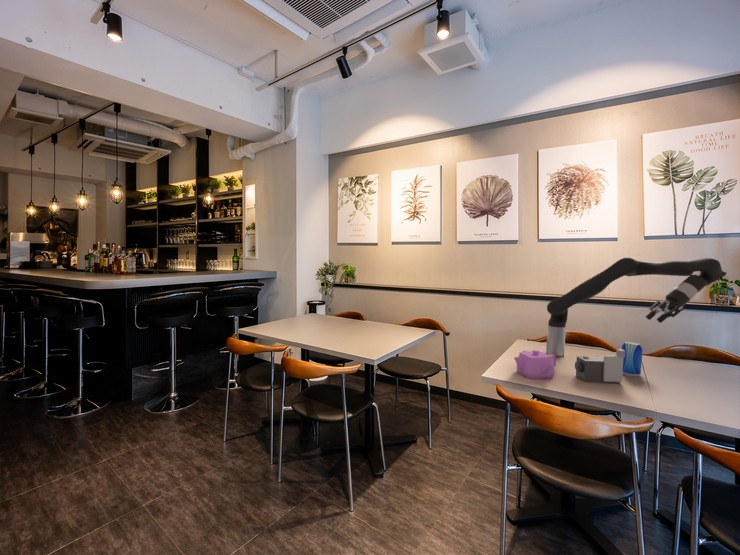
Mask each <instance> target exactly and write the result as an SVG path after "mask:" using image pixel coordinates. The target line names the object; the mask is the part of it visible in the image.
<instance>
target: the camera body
mask: <svg viewBox="0 0 740 555" xmlns="http://www.w3.org/2000/svg"><path fill="white" fill-rule="evenodd" d="M603 368H604V356H587V355H580V356H579V355H577V356H576V361H575V363H574V369H575V377H576V378H578V379H580V380H581V381H583V382H584V383H608V384H620V383H621V382H607V381H603Z"/></svg>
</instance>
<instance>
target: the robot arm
mask: <svg viewBox="0 0 740 555" xmlns="http://www.w3.org/2000/svg"><path fill="white" fill-rule="evenodd" d="M721 265H722V264H721V263H720V261H719V260H717V259H715V258H707V257H705V258H704V257H703V258H699V259H694V260H693V259H692V260H685V261H684V260H680V261H679V260H668V261H667V260H665V261H656V262H649V261H648V262H647V261H639V260H636V259H634V258H632V257H622V258H620V259H618V260H616V261H615V262H614V263H613V264H611V265H609V267H607V268H605V269H604V270H603V271H601V272H599V273H597V274H595V275H594V276H592V277H589V278H588V279H587V280H585V281H583V282H582V283H580V284H578V285H577V286H575V287H574V288H572V289H571V290H570V291H569V292H567V293H565V294H564V295H561V296H559V297H557V298H555V299H553V300H550V301H549V302H548V304H547V306H546V310H547V313H548V314H549V315H550V318H549V320H548V323H547V326H548V327H547V337H546V349H545V354H550V355H555V357H564V356H565V348H566V347H565V346H566V330H567V328H566V326H567V322H568V315H569V314H568V312H569V308H571V307H573V306H575V305H577V304H580V303H582V302H586V301H587V300H589V299H591V298H593V297H595V296H597V295H598V294H600V293H602V292H603V291H604V290H605V289H606V288H607V287H608V286H609V285H610V284H611V283H612V282H614V281H616V280H618V279H620V278H623V277H624V276H626V277H637V276H652V275H657V276H671V277H672V276H673V277H674V276H676V277H686V278H685V279H684V280H683V281H682V282H681V283H679V284H678V285H676V286H675V287H674V288H673V289H672V290H671V291H669V292H668V293H667V294H666V295H665V300H663V301H660V300H656V301H655V302H654V303H653V304H652V305H651V306H650V307H649V308H648V309H649V311H650V312H649V313H647V314H646V315H645V318H646V319H647V320H648V321H649V320H652V319H653V318H654V317H655V316H656V315H657V314H660V313H661V314H660V315H659V316H658V318H656V321H657V322H658V323H660V324H662V322H664V321H666V320H667V318H674V317H675V316H677V315H678V314H680V313H681V312H682V311H684V310H685V308H684V306H686V304H687V303H689V302H690V301H692V300H693V298H695V297H696V295H697V294H699V293H700V291H701V290H703V289H704V288H705V287H708V286H709V285H711V284H713V283H714V282H716V281H718V280H719V279H720V278H721V277H722V275H723V269H722V266H721ZM695 272H700V273H699V274H694V273H695Z"/></svg>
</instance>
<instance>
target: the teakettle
mask: <svg viewBox="0 0 740 555" xmlns="http://www.w3.org/2000/svg"><path fill="white" fill-rule="evenodd" d="M513 359H514V361H515V363H516V371H517V373H518V374H520V375H521V376H524V377H525V378H526V379H529V380H543V379H553V378H554V375H555V367H556V356H555V355H550V354H546V352H545V353H544V352H542V351H540V350H537V349H533V350H532V351H529V350H522V351H521V352H519V355H518V356H514V357H513Z"/></svg>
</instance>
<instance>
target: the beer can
mask: <svg viewBox="0 0 740 555" xmlns="http://www.w3.org/2000/svg"><path fill="white" fill-rule="evenodd" d="M620 349H622V350H624V351H625V357H623V373H622V375H625V376H629V377H636V378H637V377H640V375H641V374H642V363H643V362H642V361H643V347H642V346H641V343H639V342H636V341H624V342H623V344H622V345H621V348H620Z"/></svg>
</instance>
